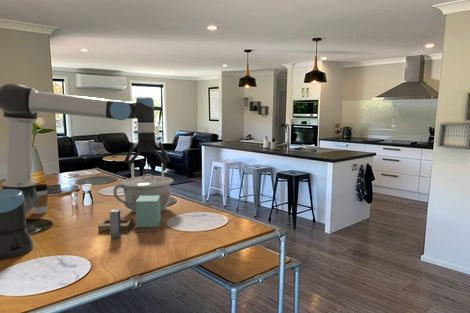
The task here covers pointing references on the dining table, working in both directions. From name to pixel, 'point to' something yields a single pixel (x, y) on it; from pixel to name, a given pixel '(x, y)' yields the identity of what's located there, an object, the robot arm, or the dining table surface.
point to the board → (149, 228)
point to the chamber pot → (145, 190)
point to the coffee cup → (41, 199)
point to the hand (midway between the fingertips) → (147, 177)
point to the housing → (148, 211)
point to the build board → (125, 225)
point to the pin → (115, 224)
